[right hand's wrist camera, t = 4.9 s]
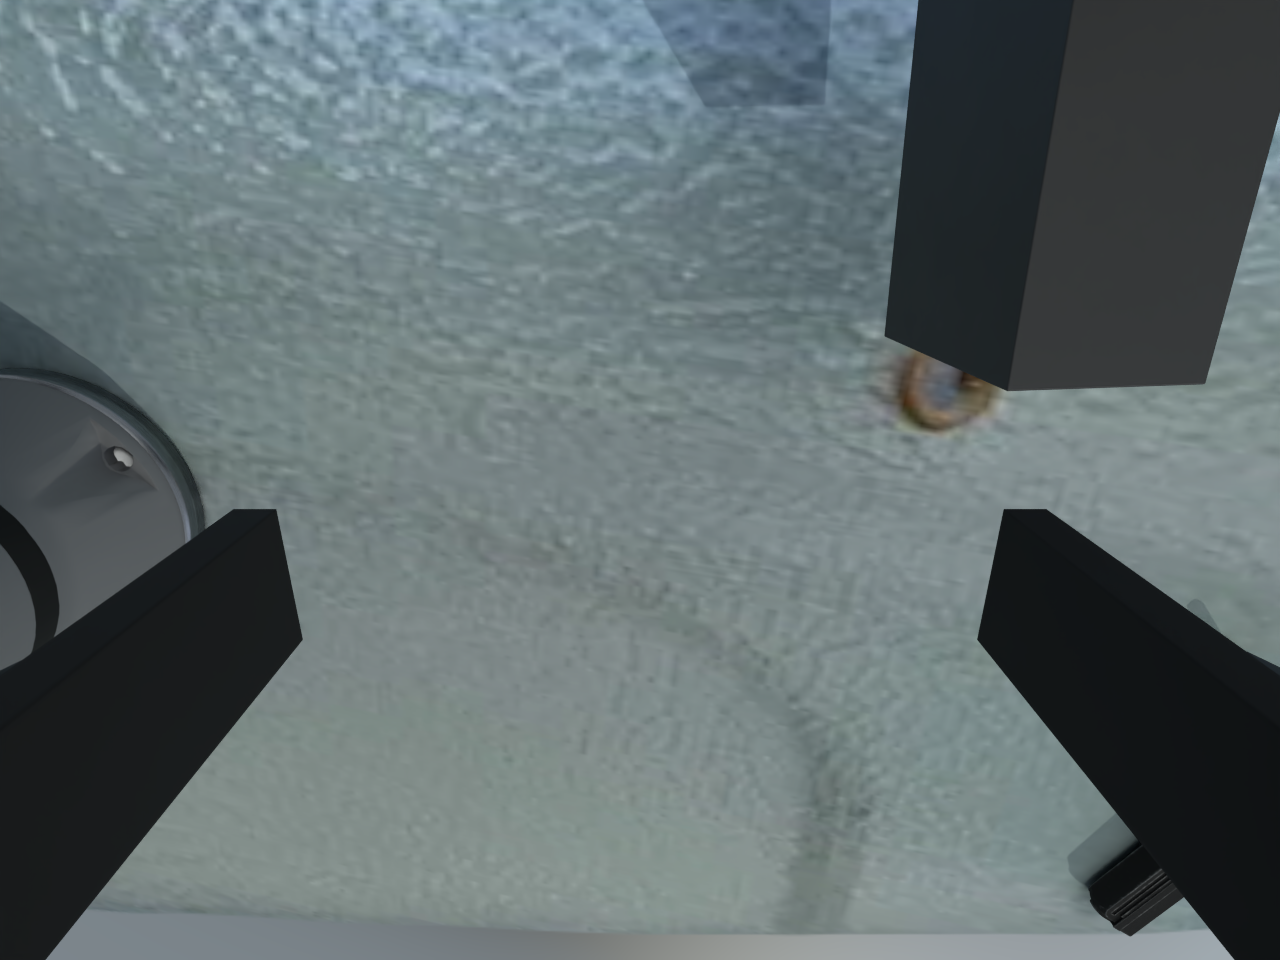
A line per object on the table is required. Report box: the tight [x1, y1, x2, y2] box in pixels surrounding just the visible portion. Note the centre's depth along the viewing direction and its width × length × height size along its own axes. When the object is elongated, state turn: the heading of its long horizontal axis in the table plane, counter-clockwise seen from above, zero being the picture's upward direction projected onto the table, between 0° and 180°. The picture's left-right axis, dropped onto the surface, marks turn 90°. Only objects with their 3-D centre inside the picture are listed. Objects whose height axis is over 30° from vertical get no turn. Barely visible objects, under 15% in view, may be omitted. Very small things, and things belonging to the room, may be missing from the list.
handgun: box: [1089, 845, 1184, 936], centre depth 48 cm, size 3×21×14 cm
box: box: [885, 0, 1280, 391], centre depth 20 cm, size 20×6×10 cm, turn 2°
